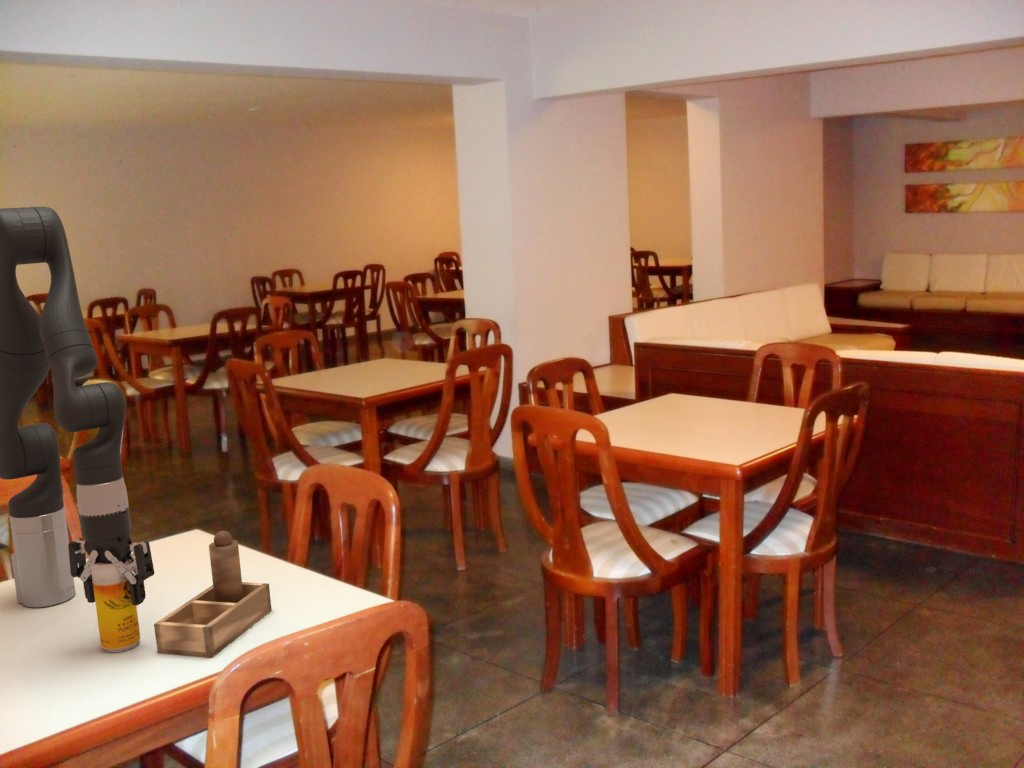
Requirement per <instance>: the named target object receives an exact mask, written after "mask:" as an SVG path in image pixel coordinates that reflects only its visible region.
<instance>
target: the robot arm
mask: <svg viewBox="0 0 1024 768" xmlns="http://www.w3.org/2000/svg"><path fill="white" fill-rule="evenodd" d="M71 258H72V257H71V252H70V248H69V243H68V238H67V234H66V231H65V227H64V224H63V222H62V220H61V218H60V216H59V214H58V213H57V211H55V210H54V209H53V208H51V207H50V206H29V207H25V206H24V207H2V208H1V207H0V479H2V480H6V481H7V480H17V479H22V478H27V477H31V476H36V477H35V480H33V482H31V483H30V484H29V485H28V487H26V488H24V489H23V490H21V491H20V492H18V493H16V494H14V495H13V496H12V497H11V498H10V499H9V500H8V503H7V507H8V513H9V514H8V515H9V522H10V527H11V528H10V529H11V535H12V541H13V542H12V543H13V549H14V552H13V553H11V554H10V558H11V566H12V567H11V568H12V573H13V579H14V586H15V594H16V600H17V601H16V602H17V604H18V603H19V604H22V605H23V606H24V607H28V608H44V607H51V606H55V605H58V604H62V603H64V602H67V601H68V600H71V599H72V598H73V597H75V595H76V586H75V585H76V584H75V578H79V579H80V580H81V582H82V583H83V584H82V585H83V591H84V596H85V597H84V598H86V600H87V603H89V604H90V603H91V604H93V603H95V596H94V588H93V580H92V573H91V568H92V566H93V563H94V564H96V563H108V564H114V566H115V567H116V568H117V570H118V571H119V572H120V573H121V574H124V575H125V576H126V577H127V579H128V580H129V581H130V582H131V584H129V585H130V593H131V600H132V605H136V607H137V606H139V605H140V604H142V603H144V601H145V599H146V597H147V596H146V588H145V581H146V580H147V579H149V578H151V577H153V576H154V575H155V568H154V562H153V558H152V552H151V551H152V550H151V546H150V542H149V541H148V540H143V541H141V542H133V540H132V539H131V531H132V522H131V515H130V507H129V498H128V492H127V491H128V490H127V487H126V483H125V480H124V479H125V478H124V472H123V471H124V470H123V465H122V464H123V463H122V457H121V446H122V440H123V439H122V437H123V430H124V424H125V419H126V413H127V401H126V397H125V393H124V392H123V391H122V389H121V388H120V386H118V385H117V384H116V383H114V382H110V381H102V382H98V383H92V384H84V385H79V386H76V384H75V380H77V379H79V378H81V377H84V376H87V375H88V374H90V373H93V371H94V370H96V368H97V367H98V365H99V364H98V363H99V359H98V354H97V353H96V350H95V348H94V344H93V342H92V339H91V336H90V332H89V331H88V327H87V324H86V321H85V318H84V314H83V311H82V308H81V303H80V298H79V293H78V288H77V287H78V286H77V283H76V276H75V272H74V266H73V262H72V259H71ZM42 263H46V264H47V265H48V268H49V272H50V285H49V290H48V292H47V293H48V294H47V297H46V298H45V302H44V305H43V307H42V311H41V314H40V312H38V311H37V309H36V308H35V307H34V306H33V305H32V303H31V302H30V301H29V300H28V299H27V297H26V296H25V294H24V293H23V291H22V289H21V287H20V286H19V283H18V279H17V266H19V265H32V264H42ZM50 369H51V370H50ZM49 371H51V376H52V389H53V416H54V420H55V421H56V423H57V424H58V426H59V427H60V428H62V429H63V430H64V431H67V432H69V433H79V432H84V431H88V430H93V429H94V430H95V429H98V431H97V434H96V435H95V437H94V438H93V439H92V440H90V441H87V442H85V443H83V444H81V445H79V446H77V447H76V448H75V449H74V450H73V453H72V459H73V461H72V462H73V467H74V469H73V470H74V475H75V482H76V504H77V510H78V511H77V512H78V517H79V524H80V525H79V527H80V533H81V537H78V538H77V539H76V540H73V541H71V542H70V540H69V533H68V525H67V518H66V510H65V503H64V489H63V487H64V486H63V480H62V466H61V453H60V443H59V439H58V435H57V433H56V431H55V429H54V428H53V427H52V425H51V424H49V423H46V422H40V423H34V424H28V425H22V426H19V423H20V418H21V416H22V413H23V411H24V409H25V407H26V406H27V405H28V404H29V402H30V401H31V399H32V398H33V396H34V395H35V393H37V391H38V389H39V388H40V387H41V385H42V384H43V382H44V381H45V379H46V378H47V376H48V374H49ZM86 553H87V555H88V556H89V557H88V559H87V555H86ZM127 560H128V561H129V563H130V564H129V565H124V564H123V563H125V562H127ZM131 570H132V571H131Z"/></svg>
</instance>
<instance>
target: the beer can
mask: <svg viewBox="0 0 1024 768" xmlns="http://www.w3.org/2000/svg"><path fill="white" fill-rule="evenodd" d="M123 564H124V565H129V564H130V563H129V561H128V560H127V562H125V563H123ZM131 571H132V570H131ZM132 572H133V571H132ZM91 573H92V580H93V588H94V596H95V602H94V603H95V609H96V610H95V612H96V618H97V626H98V633H99V641H100V646H101V647H102V648H103V649H104V650H105V652H109V653H121V652H125V651H129V650H131V649H133V648H135V647H136V646H137V645H138V642H139V640H140V639H141V633H140V625H139V616H138V615H139V614H138V610H137V609H138V607H137V606H136V605H132V600H131V593H130V585H129V584H131V582H130V581H129V580H128V579H127V577H126V576H125V575H124V574H121V573H120V572H119V571H118V570H117V568H116V567H115V566H114V564H108V563H96V564H94V563H93V566H92V568H91Z"/></svg>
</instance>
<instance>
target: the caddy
mask: <svg viewBox="0 0 1024 768" xmlns="http://www.w3.org/2000/svg"><path fill="white" fill-rule="evenodd" d="M208 551H209V561H210V568H211V569H210V571H211V577H212V585H211V586H209V587H207V588H205V589H204V590H203V591H202V592H200V593H198V594H196V595H195V596H194V597H192V598H191V599H189V600H188V601H186V602H185V603H183V604H182V605H179V607H176V608H175V609H174V610H173V611H171V612H170V613H168V614H167V615H165V616H164V617H162V618H161V619H159V620H158V621H156V622H155V623H154V625H153V627H154V634H155V645H156V652H157V653H156V654H163V655H175V656H187V657H188V656H189V657H199V658H213V657H215V656H216V655H217V654H218V653H219V652H221V651H222V650H223V649H225V648H227V646H229V644H231V643H232V642H234V641H235V640H236V639H238V637H240V636H241V635H243V634H244V633H245V632H247V630H249V629H250V628H251V627H252V626H254V625H255V624H256V623H258V622H259V621H260V620H262V619H263V618H264V617H265V616H266V615H268V614H269V613H271V612H272V601H271V591H270V590H271V589H270V583H267V582H266V583H265V582H264V583H263V582H248V581H243V580H242V579H243V577H242V569H241V558H240V550H239V541H238V540H236V539H233V536H232V535H231V533H230V532H229V531H227V530H220V531H218V532H217V533H216V534H215V535H214V537H213V542H211V543H209V545H208Z"/></svg>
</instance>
